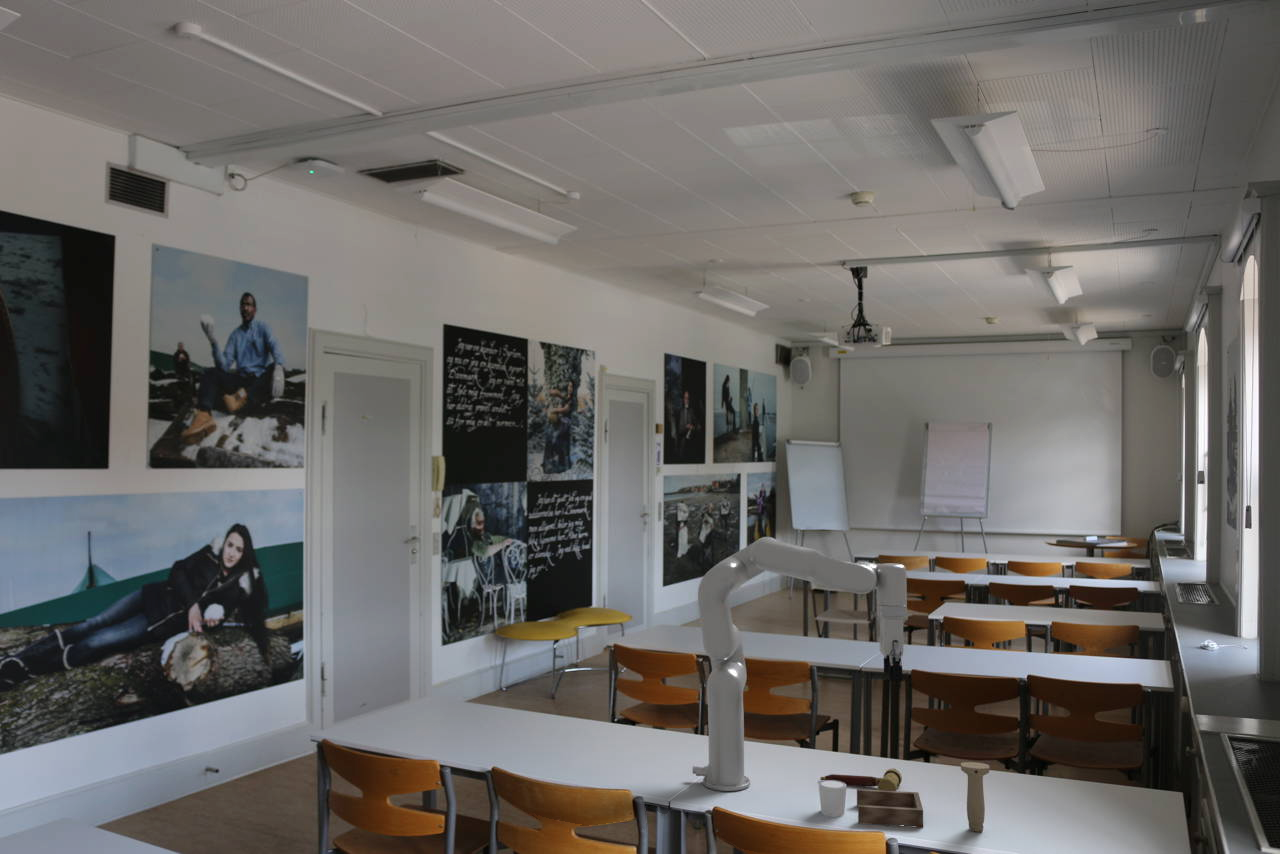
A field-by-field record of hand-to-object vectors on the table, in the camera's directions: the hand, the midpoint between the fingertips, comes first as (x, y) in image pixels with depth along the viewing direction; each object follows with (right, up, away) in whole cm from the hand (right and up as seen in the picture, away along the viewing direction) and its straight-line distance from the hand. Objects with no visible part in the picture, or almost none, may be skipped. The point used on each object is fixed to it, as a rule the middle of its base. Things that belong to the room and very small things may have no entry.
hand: (892, 677), depth 260 cm
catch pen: (-6, -30, -16) cm, 34 cm away
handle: (+13, -30, -26) cm, 41 cm away
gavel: (-7, -31, +6) cm, 33 cm away
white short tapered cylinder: (-18, -30, -14) cm, 38 cm away
